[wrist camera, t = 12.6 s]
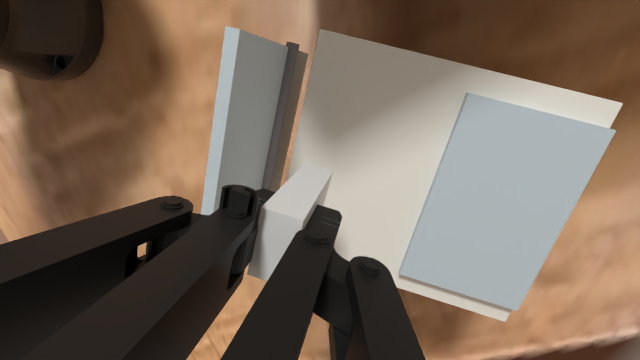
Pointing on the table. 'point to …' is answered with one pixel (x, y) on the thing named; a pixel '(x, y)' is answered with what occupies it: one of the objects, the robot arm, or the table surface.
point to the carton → (447, 167)
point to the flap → (252, 114)
